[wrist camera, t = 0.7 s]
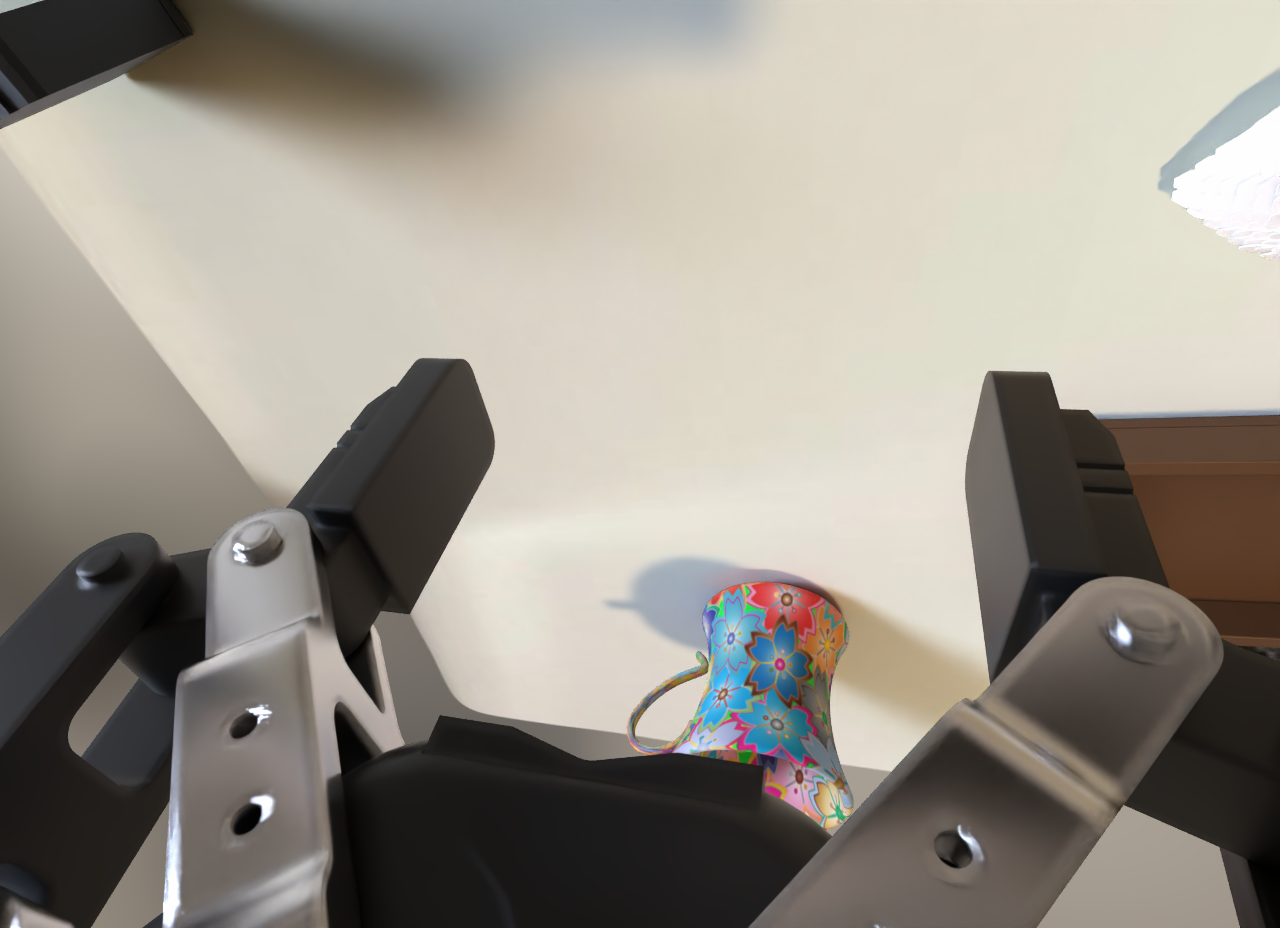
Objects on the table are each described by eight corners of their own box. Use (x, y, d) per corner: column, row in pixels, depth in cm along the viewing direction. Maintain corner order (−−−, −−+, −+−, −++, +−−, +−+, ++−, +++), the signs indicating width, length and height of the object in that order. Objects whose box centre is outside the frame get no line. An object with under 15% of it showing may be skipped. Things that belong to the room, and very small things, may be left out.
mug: (854, 569, 39) (850, 760, 32) (858, 665, 45) (856, 845, 38) (640, 562, 43) (592, 731, 36) (671, 651, 49) (635, 813, 42)
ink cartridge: (152, -38, 26) (-48, 22, 20) (199, 32, 27) (24, 106, 21) (69, 15, 28) (-134, 83, 22) (116, 78, 29) (-63, 157, 23)
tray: (1051, 420, 30) (1063, 463, 28) (1568, 408, 25) (1622, 458, 24) (1018, 591, 38) (1026, 634, 36) (1414, 607, 33) (1446, 657, 31)
